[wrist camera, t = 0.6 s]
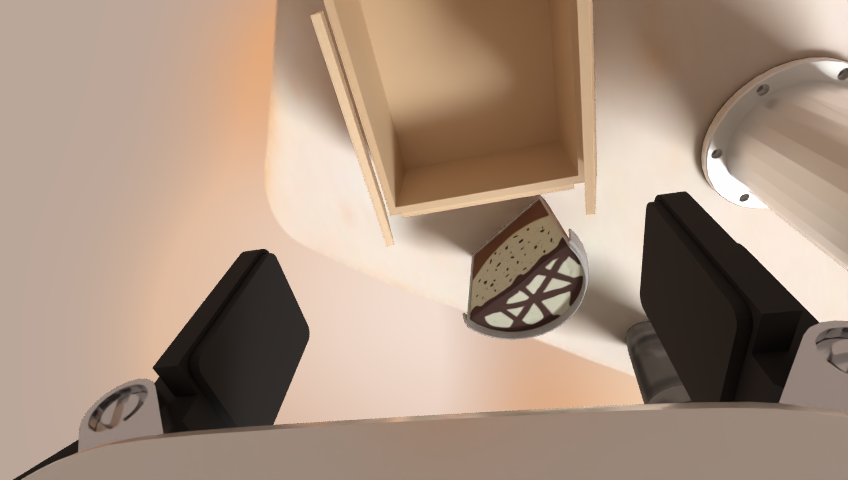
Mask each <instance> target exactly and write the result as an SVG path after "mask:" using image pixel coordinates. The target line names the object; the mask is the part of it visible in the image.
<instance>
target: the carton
mask: <svg viewBox="0 0 848 480" xmlns="http://www.w3.org/2000/svg"><path fill="white" fill-rule="evenodd" d="M323 2H324V5H325V8H326V11H327V14H328V18H329V21H330V24H331V27H332V30H333V34H334V37H335V40H336V43H337V46H338V50H339V53H340V56H341V59H342V62H343V66H344V69H345V72H346V75H347V78H348V82H349V85H350V88H351V91H352V94H353V98H354V101H355V104H356V107H357V110H358V114H359V117H360V120H361V123H362V126H363V130H364V133H365V136H366V139H367V142H368V146H369V149H370V152H371V155H372V158H373V162H374V165H375V168H376V171H377V174H378V178H379V181H380V184H381V187H382V190H383V194H384V197H385V200H386V203H387V206H388V210H389V213H390V215H396V214H401V213H402V216H403V218H404V217H410V216H416V215H422V214H428V213H434V212H440V211H446V210H451V209H457V208H463V207H469V206H475V205H481V204H487V203H493V202H499V201H504V200H510V199H516V198H522V197H528V196H534V195H540V194H546V193H552V192H557V191H563V190H569V189H574V184H576V183H582V182H585V177H584V153H583V130H582V106H581V82H580V58H579V35H578V11H577V0H323Z"/></svg>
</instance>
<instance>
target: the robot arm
mask: <svg viewBox="0 0 848 480" xmlns="http://www.w3.org/2000/svg"><path fill="white" fill-rule="evenodd" d="M701 160H702V169H703V172H704V175H705V178H706V180H707V181H708V183H709V184H710V186H711V187H712V188H713V189H714V190H715V191H716V192H717V193H718V194H719V195H720V196H722V197H723V198H725V199H726V200H728V201H729V202H732V203H734V204H736V205H739V206H744V207H750V208H769V209H770V210H771V211H773V212H774V213H775V214H776V215H778V216H779V217H780V218H781V219H783V220H784V221H785V222H786V223H788V224H789V225H790V226H792V227H793V228H794V229H795V230H797V231H798V232H799V233H800V234H802V235H803V236H804V237H805V238H807V239H808V240H809V241H810V242H812V243H813V244H814V245H815V246H817V247H818V248H819V249H820V250H822V251H823V252H824V253H825V254H827V255H828V256H829V257H831V258H832V259H833V260H834V261H836V262H837V263H838V264H839V265H841V266H842V267H843V268H844V269H846V270H847V271H848V62H846V61H842V60H838V59H832V58H827V57H816V58H805V59H800V60H795V61H790V62H788V63H785V64H782V65H779V66H777V67H774V68H772V69H770V70H768V71H766V72H764V73H763V74H761V75H759V76H757V77H755V78H754V79H753V80H751V81H750V82H748V83H747V84H746V85H744V86H743V87H741V88H740V89H739V90H738V91H737V92H736V93H735V94H734V95H733V96H732V97H731V98H730V99H729V100H728V101H727V102H726V103H725V104H724V106H723V107H722V108H721V109H720V111H719V112H718V113H717V114H716V116H715V118H714V119H713V121H712V123H711V125H710V126H709V128H708V131H707V133H706V136H705V139H704V142H703V147H702V153H701ZM640 299H641V303H642V307H643V309H644V311H645V313H646V315H647V317H648V318H649V320H650V322H651V324H652V326H653V328H654V330H655V332H656V334H657V336H658V338H659V340H660V342H661V343H662V345H663V347H664V349H665V351H666V353H667V355H668V357H669V359H670V361H671V363H672V365H673V366H674V368H675V370H676V372H677V374H678V376H679V378H680V380H681V382H682V384H683V386H684V388H685V389H686V391H687V393H688V395H689V397H690V399H691V401H692V402H690V403H663V404H639V405H612V406H594V407H575V408H555V409H537V410H519V411H500V412H480V413H463V414H445V415H428V416H411V417H394V418H378V419H362V420H344V421H328V422H314V423H297V424H283V425H273V424H274V421H275V419H276V417H277V414H278V412H279V410H280V407H281V405H282V402H283V400H284V398H285V395H286V392H287V390H288V388H289V386H290V383H291V381H292V378H293V376H294V373H295V371H296V369H297V366H298V364H299V362H300V359H301V357H302V354H303V352H304V350H305V347H306V345H307V342H308V340H309V327H308V324H307V322H306V320H305V318H304V316H303V314H302V312H301V309H300V307H299V305H298V303H297V301H296V299H295V296H294V294H293V292H292V290H291V288H290V286H289V284H288V281H287V279H286V277H285V275H284V273H283V271H282V268H281V266H280V264H279V262H278V260H277V258H276V256H275V255H274V254H272V253H269V252H268V251H267V250H265V249H260V250H253V251H245V252H243V253H241V254H240V256H239V257H238V258H237V260H236V261H235V262H234V263H233V265H232V266H231V267H230V268H229V270H228V271H227V272H226V274H225V275H224V276H223V277H222V279H221V280H220V281H219V283H218V284H217V285H216V286H215V288H214V289H213V290H212V292H211V293H210V294H209V296H208V297H207V298H206V300H205V301H204V302H203V303H202V305H201V306H200V307H199V308H198V310H197V311H196V312H195V314H194V315H193V316H192V317H191V319H190V320H189V321H188V323H187V324H186V325H185V326H184V328H183V329H182V331H181V332H180V333H179V334H178V336H177V337H176V338H175V339H174V341H173V342H172V343H171V345H170V346H169V347H168V348H167V350H166V351H165V352H164V354H163V355H162V356H161V357H160V359H159V360H158V361H157V363H156V364H155V365H154V366H153V369H154V370H155V371H156V373H157V374H158V375H159V378H158V379H157V381H156V382H155V383H153V381H150V380H148V379H137V380H133V381H129V382H127V383H124V384H122V385H120V386H118V387H116V388H114V389H113V390H111V391H110V392H108V393H106V394H105V395H104V396H103V397H101V398H100V399H99V400H98V401H97V402H96V403H95V404H94V405H93V406H92V407H91V408H90V409H89V410H88V411H87V413H86V414H85V416H84V418H83V419H82V421H81V425H80V428H79V440H77V441H76V442H74V443H72V444H71V445H69V446H67V447H66V448H64V449H62V450H61V451H59V452H58V453H56V454H54V455H53V456H51V457H49V458H48V459H46V460H44V461H43V462H41V463H40V464H38V465H36V466H35V467H33V468H31V469H30V470H28V471H27V472H25V473H24V474H22V475H20V476H18V477H17V478H15V479H13V480H848V321H828V322H821V323H819V322H818V321H817V320H816V319H815V318H814V317H813V316H812V315H811V314H810V313H809V312H808V311H807V310H806V309H805V308H804V307H803V306H802V305H801V304H800V303H799V302H798V301H797V300H796V299H795V298H794V297H793V296H792V295H791V294H790V293H789V292H788V291H787V290H786V288H785V287H784V286H783V285H782V284H781V283H780V282H779V281H778V280H777V279H776V278H775V277H774V276H773V275H772V274H771V273H770V272H769V271H768V270H767V269H766V268H765V267H764V266H763V265H762V264H761V263H760V262H759V261H758V260H757V259H756V258H755V257H754V256H753V255H752V254H751V253H750V252H749V251H748V250H747V249H746V248H745V247H743V246H742V245H741V244H739V243H736V242H735V241H734V240H733V239H732V238H731V237H730V236H729V235H728V234H727V233H726V231H725V230H724V229H723V228H722V227H721V226H720V225H719V224H718V223H717V222H716V221H715V220H714V219H713V218H712V217H711V216H710V215H709V214H708V213H707V212H706V211H705V210H704V209H703V208H702V207H701V206H700V205H699V204H698V203H697V202H696V201H695V200H694V199H693V198H692V197H691V196H690V195H689V194H688V193H687V192H677V193H669V194H662V195H657V196H656V198H655V200H654V202H649V203H648V204H647V207H646V218H645V232H644V245H643V259H642V272H641V286H640Z"/></svg>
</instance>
